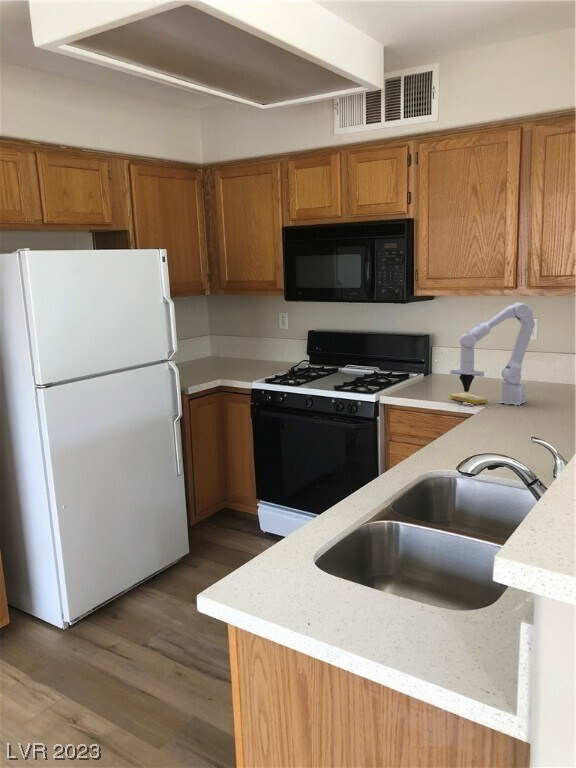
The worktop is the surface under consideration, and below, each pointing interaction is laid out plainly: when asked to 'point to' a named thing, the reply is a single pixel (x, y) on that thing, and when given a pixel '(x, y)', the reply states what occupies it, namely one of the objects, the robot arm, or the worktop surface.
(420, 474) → the worktop surface
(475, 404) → the mat
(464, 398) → the candy box
